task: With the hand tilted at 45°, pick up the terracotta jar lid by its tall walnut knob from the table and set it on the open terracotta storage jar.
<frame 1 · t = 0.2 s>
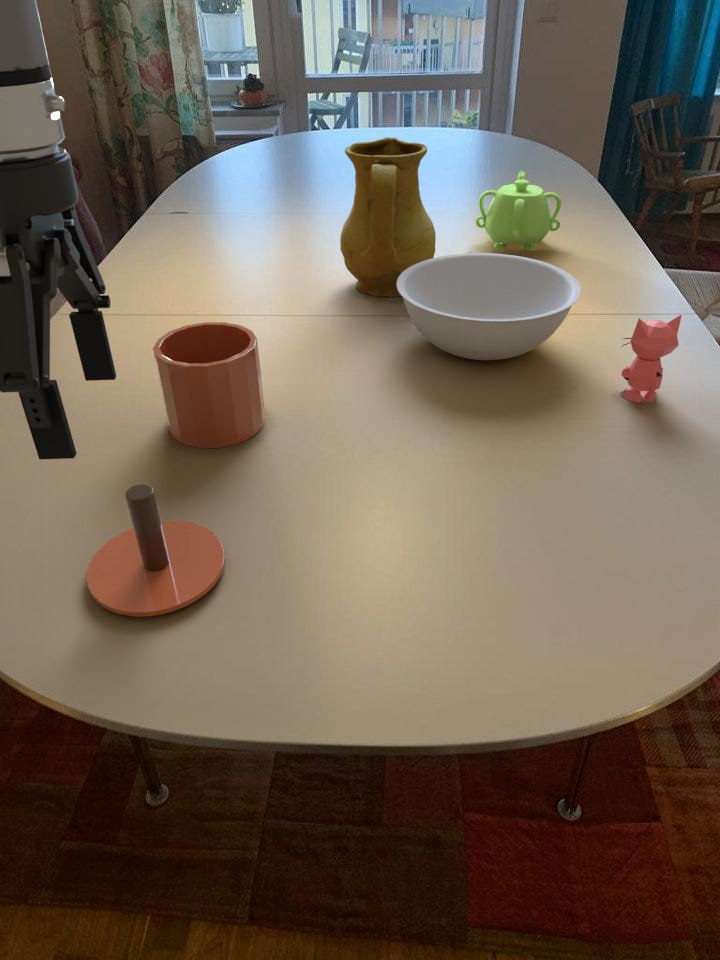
hand: (81, 414, 64), 19 cm above the table, tool pointing down, fingers open, 13 cm apart
cat figurine: (640, 398, 102), on the table
jar: (217, 422, 98), on the table
pitcher: (385, 287, 137), on the table
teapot: (515, 242, 156), on the table
lid: (157, 567, 74), point 1 cm above the table
bowl: (481, 346, 116), on the table
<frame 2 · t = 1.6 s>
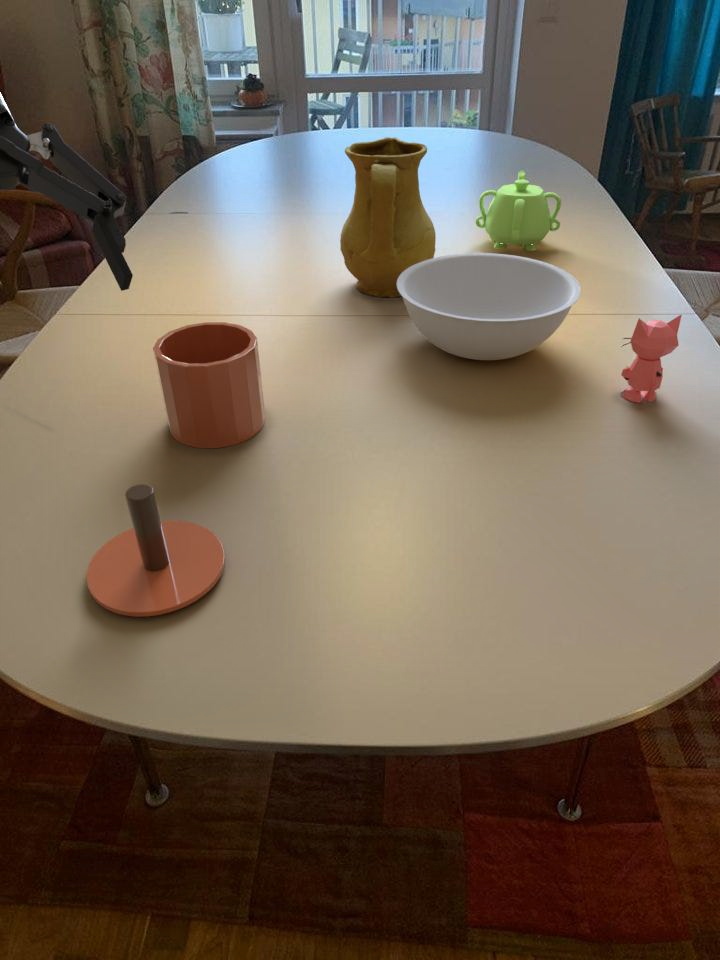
hand: (55, 302, 66), 26 cm above the table, tool tilted 45°, fingers open, 13 cm apart
nothing on the table moved.
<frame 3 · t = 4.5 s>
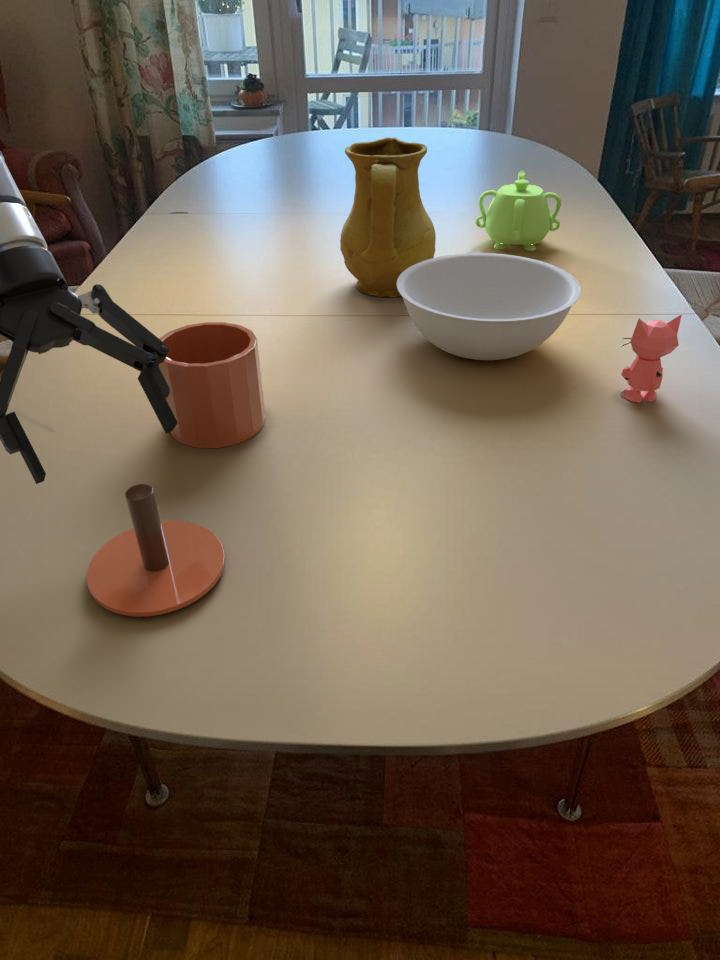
hand: (109, 452, 72), 11 cm above the table, tool tilted 45°, fingers open, 13 cm apart
nothing on the table moved.
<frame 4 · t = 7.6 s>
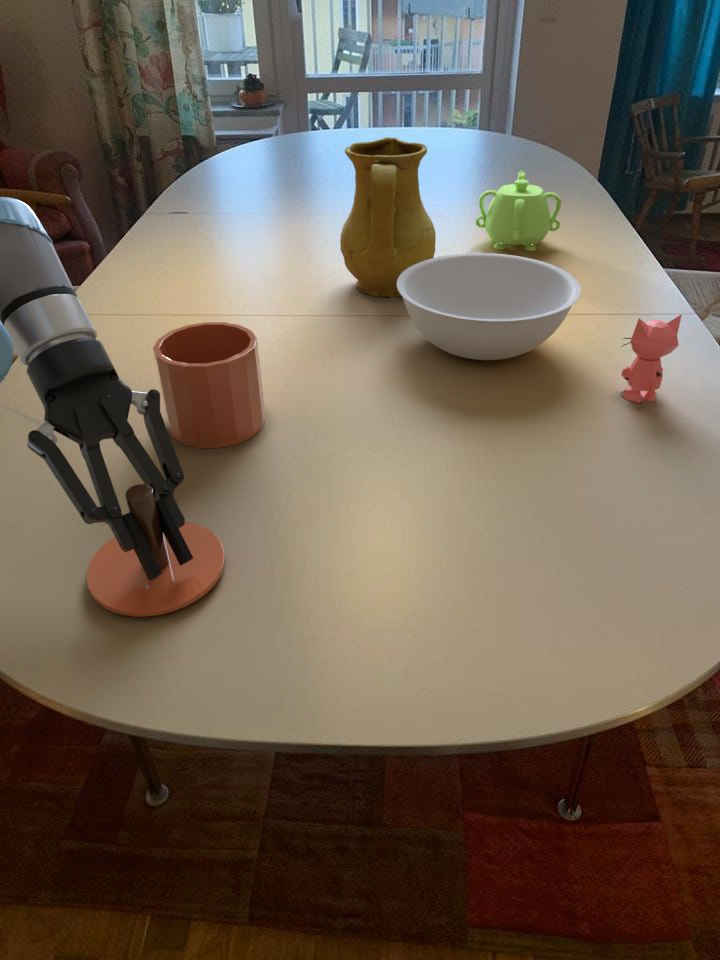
hand: (171, 568, 70), 3 cm above the table, tool tilted 45°, fingers closed on lid, 3 cm apart
lid: (157, 567, 74), point 1 cm above the table, touching gripper
everything else where it was.
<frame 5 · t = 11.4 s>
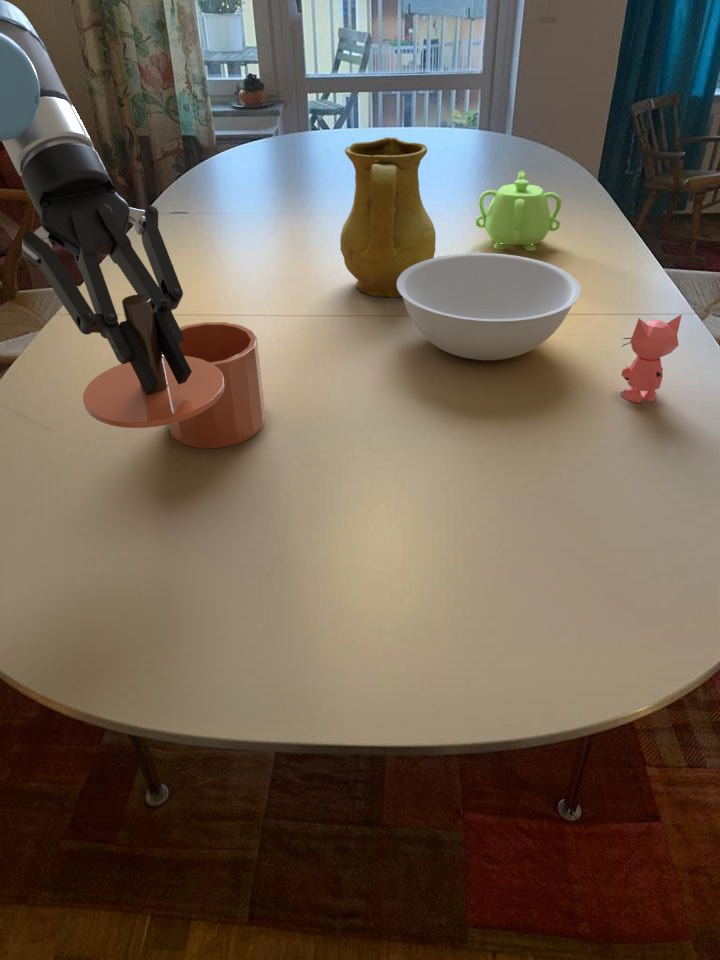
hand: (169, 383, 69), 18 cm above the table, tool tilted 45°, fingers closed on lid, 3 cm apart
lid: (155, 391, 73), point 16 cm above the table, touching gripper
everything else where it was.
when the fingers open (14 cm above the table, at t = 15.2 s): lid stays where it is, resting on jar.
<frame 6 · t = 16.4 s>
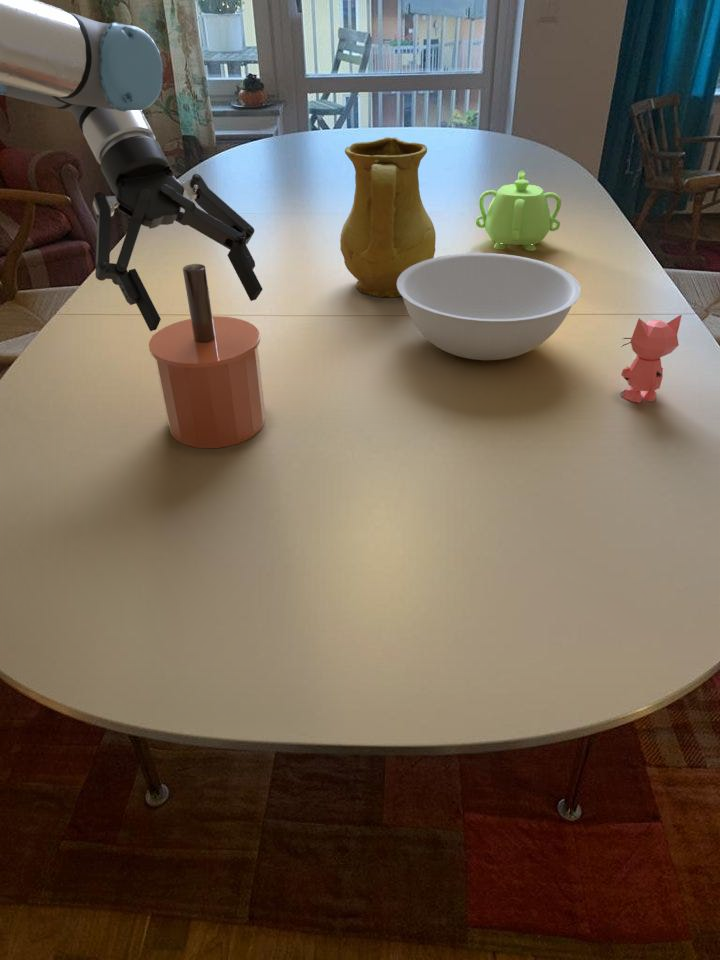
hand: (208, 310, 87), 17 cm above the table, tool tilted 45°, fingers open, 13 cm apart
lid: (205, 342, 91), point 12 cm above the table, touching jar
everything else where it was.
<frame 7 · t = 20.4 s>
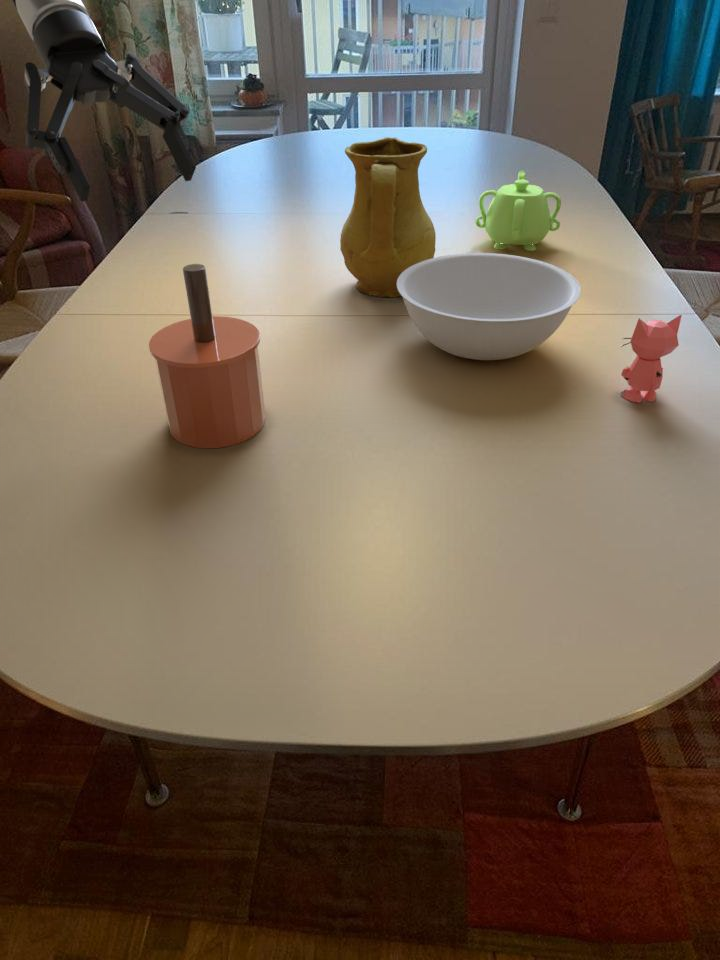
hand: (140, 184, 88), 29 cm above the table, tool tilted 45°, fingers open, 13 cm apart
nothing on the table moved.
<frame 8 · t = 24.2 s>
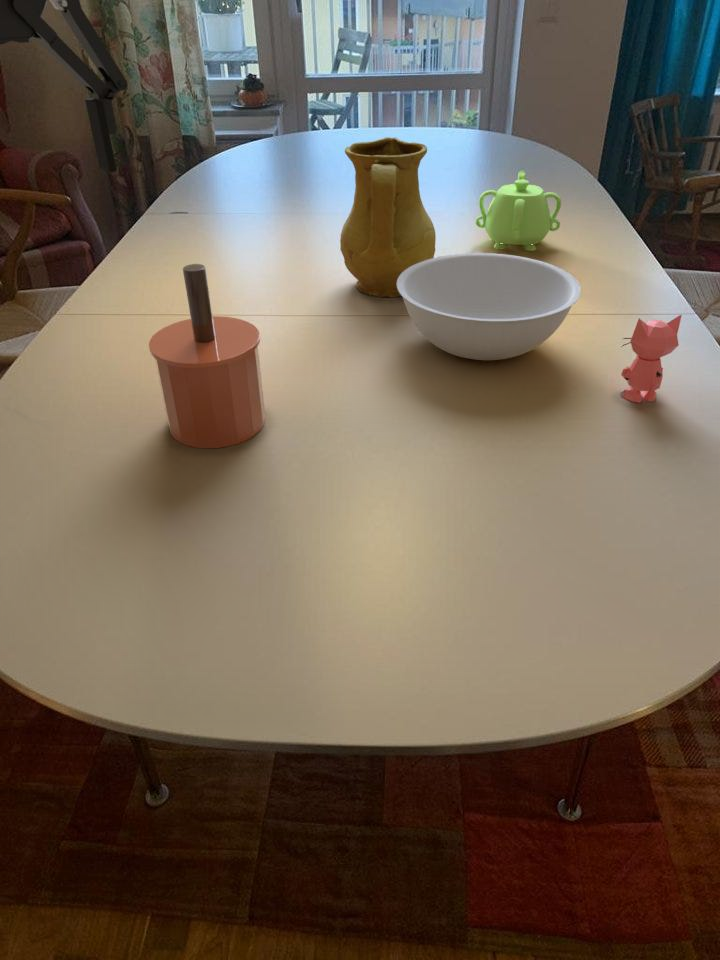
hand: (43, 181, 74), 33 cm above the table, tool pointing down, fingers open, 13 cm apart
nothing on the table moved.
at the end: lid 0.0 cm off-centre on the jar, point 11.6 cm above the jar's base; lid tilted 0°; the gripper is holding nothing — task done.
